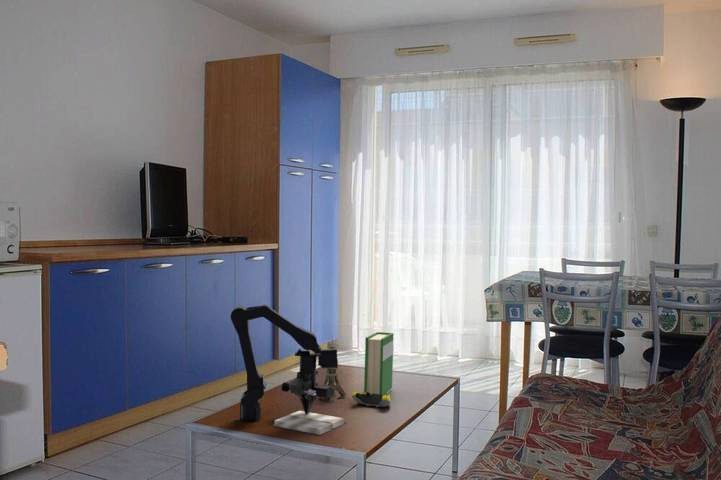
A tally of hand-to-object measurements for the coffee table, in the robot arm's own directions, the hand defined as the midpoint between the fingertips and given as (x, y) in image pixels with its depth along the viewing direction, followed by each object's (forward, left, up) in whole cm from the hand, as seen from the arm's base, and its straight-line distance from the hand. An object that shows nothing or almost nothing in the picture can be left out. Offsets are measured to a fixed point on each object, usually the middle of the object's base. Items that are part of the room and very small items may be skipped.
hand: (306, 413), depth 228 cm
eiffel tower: (-10, +33, -3) cm, 35 cm away
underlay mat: (+5, -5, -2) cm, 7 cm away
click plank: (+5, -2, -2) cm, 5 cm away
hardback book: (+2, +51, -3) cm, 51 cm away
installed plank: (+5, -10, -2) cm, 11 cm away
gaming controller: (+10, +31, -3) cm, 33 cm away
